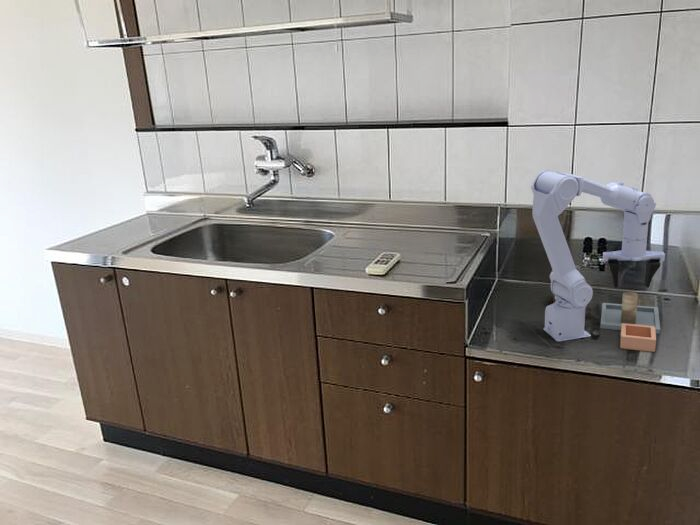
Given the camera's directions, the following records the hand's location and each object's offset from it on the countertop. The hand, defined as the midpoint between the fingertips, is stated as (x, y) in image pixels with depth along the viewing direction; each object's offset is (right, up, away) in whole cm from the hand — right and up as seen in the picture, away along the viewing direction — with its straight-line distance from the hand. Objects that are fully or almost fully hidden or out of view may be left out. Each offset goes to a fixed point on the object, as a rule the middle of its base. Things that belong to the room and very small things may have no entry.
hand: (631, 285), depth 157 cm
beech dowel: (0, -10, +1) cm, 10 cm away
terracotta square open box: (-3, -14, -10) cm, 18 cm away
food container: (-12, -6, +18) cm, 22 cm away
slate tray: (+1, -10, +2) cm, 10 cm away
